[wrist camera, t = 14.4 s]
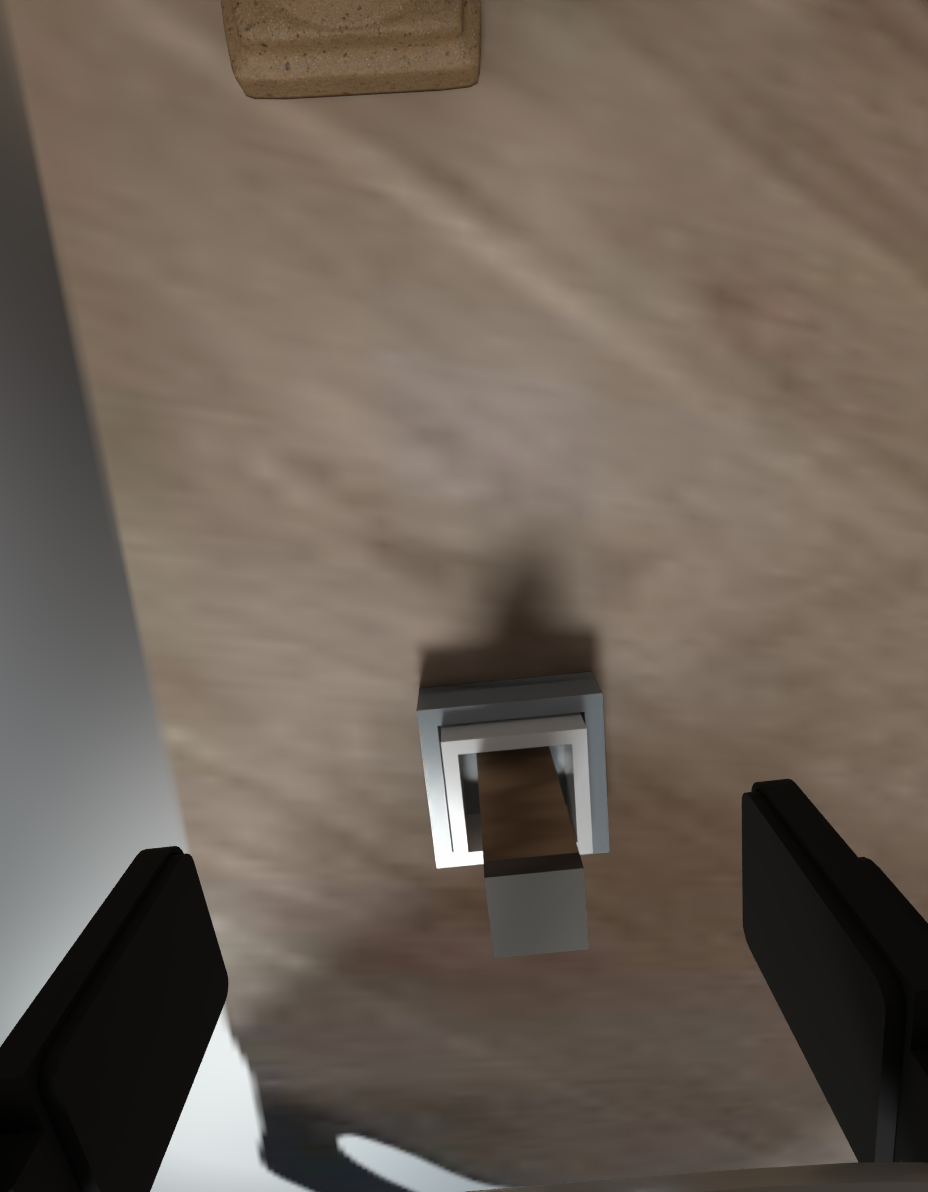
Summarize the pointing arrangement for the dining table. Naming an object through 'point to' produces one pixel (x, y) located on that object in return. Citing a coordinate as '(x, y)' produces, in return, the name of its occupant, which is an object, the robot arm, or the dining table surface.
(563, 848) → the brown tall boxy piece
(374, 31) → the candle holder
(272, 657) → the dining table surface
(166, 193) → the dining table surface
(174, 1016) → the robot arm
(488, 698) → the candle tray
